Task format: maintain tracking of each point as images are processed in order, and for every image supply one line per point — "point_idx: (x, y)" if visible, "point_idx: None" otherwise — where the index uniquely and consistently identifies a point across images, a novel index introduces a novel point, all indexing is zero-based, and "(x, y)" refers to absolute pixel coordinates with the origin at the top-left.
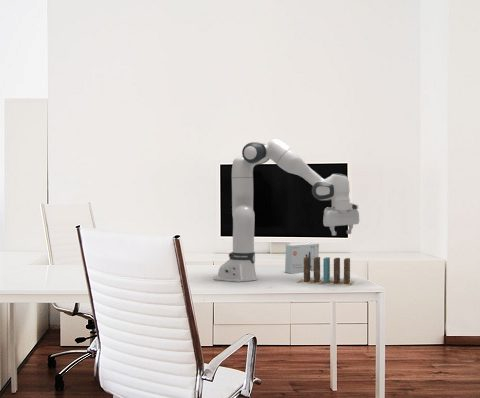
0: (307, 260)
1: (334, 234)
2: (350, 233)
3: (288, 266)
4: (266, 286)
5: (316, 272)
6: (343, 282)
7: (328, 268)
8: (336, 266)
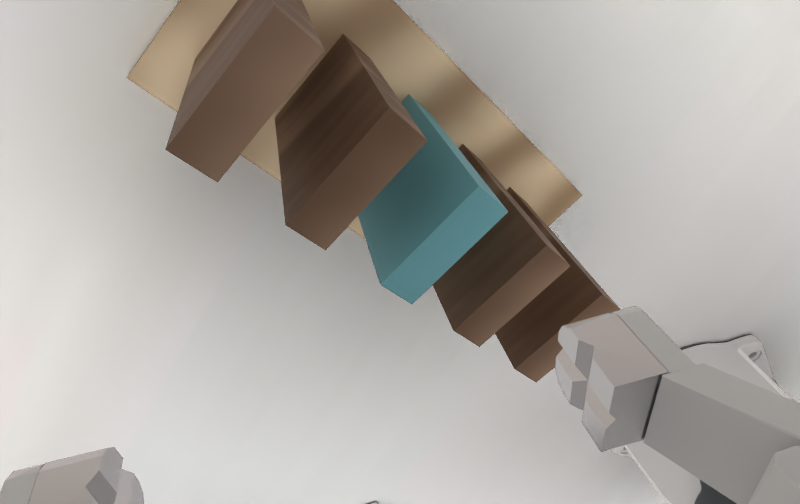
0: (591, 281)
1: (635, 317)
2: (47, 464)
3: None
4: (762, 175)
5: (497, 183)
6: None
7: (406, 177)
8: (382, 89)
